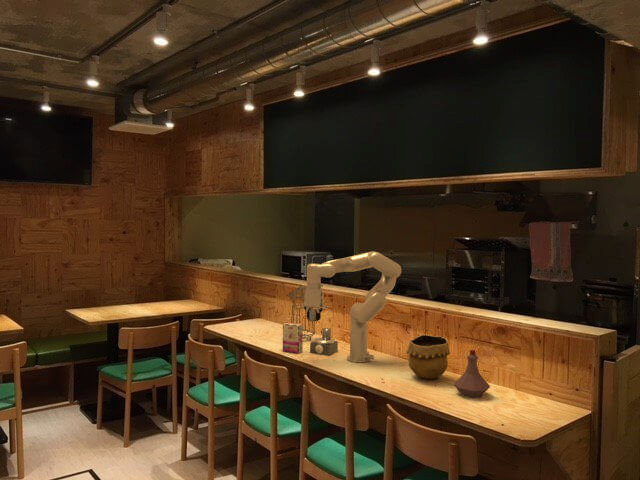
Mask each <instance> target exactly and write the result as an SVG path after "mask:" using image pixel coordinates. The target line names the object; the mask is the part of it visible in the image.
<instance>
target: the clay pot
mask: <svg viewBox="0 0 640 480" xmlns="http://www.w3.org/2000/svg"><path fill="white" fill-rule="evenodd" d="M405 352H406V354H408V366H409V367H410V369H411V371H412V372H413V373H414V374H415V375H416V376H417V377H420V378H422V379H424V380H435V379H437V378H440V377H441V376H442V375H444V373H445V372H446V370H447V369H448V364H449V363H448V356H449V355H450V354H451V353H450V352H451V351H450V347H449V341H448V339H447V338H446V337H443V336H441V335H438V336H437V335H436V336H435V335H431V334H430V335H429V334H420V335H419V336H416V337H415V338H413V339H411V340H410V341H409V344H408V348H407V350H406V351H405Z"/></svg>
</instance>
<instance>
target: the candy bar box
mask: <svg viewBox="0 0 640 480" xmlns="http://www.w3.org/2000/svg"><path fill="white" fill-rule="evenodd" d="M303 330H304V324H301V323H300V324H299V323H297V324H296V323H295V322H294V323H293V322H292V323H291V322H285V323H283V324H282V352H283V353H291V354H297V355H298V354H301V353H303V351H304V350H303V342H304V340H303V338H304V336H303V334H304V331H303Z"/></svg>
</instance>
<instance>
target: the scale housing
mask: <svg viewBox="0 0 640 480" xmlns="http://www.w3.org/2000/svg"><path fill="white" fill-rule="evenodd" d="M309 346H310V347H309V348H310V349H309V353H310V354H314V355H315V354H316V355H322V356H327V355H328V357H329V356H331V355H333V354H335V353H337V352H339V350H338V348H339V347H338V346H339V341H337V340H334V343H333V344H317V343H314V340H313V341H312V342H311V341H310V343H309Z"/></svg>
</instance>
